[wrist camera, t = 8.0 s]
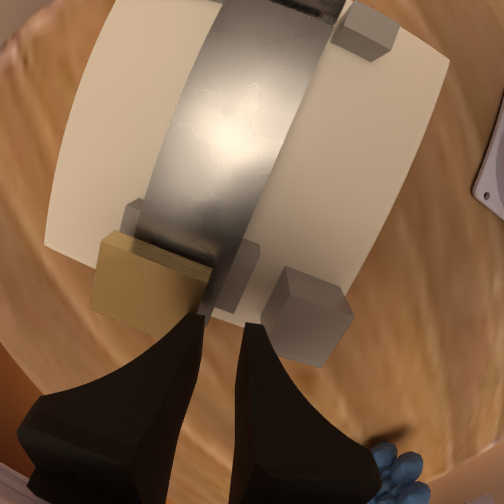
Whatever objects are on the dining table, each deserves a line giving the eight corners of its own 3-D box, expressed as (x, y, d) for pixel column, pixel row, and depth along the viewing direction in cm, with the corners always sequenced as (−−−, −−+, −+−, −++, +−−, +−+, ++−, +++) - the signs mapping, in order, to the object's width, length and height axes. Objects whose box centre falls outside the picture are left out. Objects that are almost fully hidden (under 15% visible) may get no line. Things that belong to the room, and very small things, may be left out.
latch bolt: (212, 268, 12) (207, 283, 10) (189, 330, 13) (183, 347, 11) (114, 230, 11) (101, 240, 10) (102, 294, 12) (89, 308, 11)
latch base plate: (435, 64, 12) (482, 51, 8) (308, 334, 18) (319, 384, 14) (155, -41, 10) (129, -78, 6) (57, 236, 16) (14, 264, 12)
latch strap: (249, -27, 9) (247, -43, 8) (341, 6, 9) (349, -7, 8) (130, 281, 14) (118, 295, 13) (210, 312, 14) (205, 329, 13)
